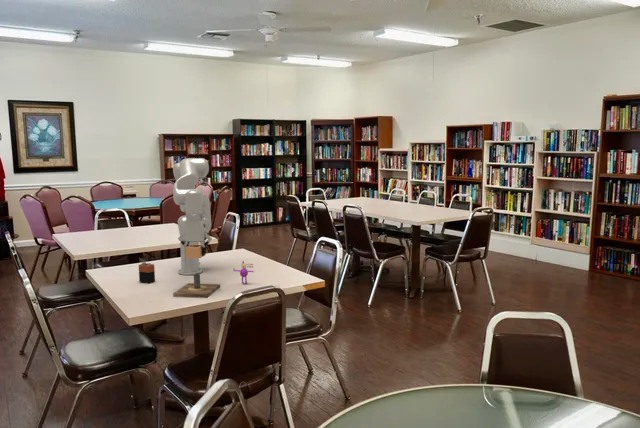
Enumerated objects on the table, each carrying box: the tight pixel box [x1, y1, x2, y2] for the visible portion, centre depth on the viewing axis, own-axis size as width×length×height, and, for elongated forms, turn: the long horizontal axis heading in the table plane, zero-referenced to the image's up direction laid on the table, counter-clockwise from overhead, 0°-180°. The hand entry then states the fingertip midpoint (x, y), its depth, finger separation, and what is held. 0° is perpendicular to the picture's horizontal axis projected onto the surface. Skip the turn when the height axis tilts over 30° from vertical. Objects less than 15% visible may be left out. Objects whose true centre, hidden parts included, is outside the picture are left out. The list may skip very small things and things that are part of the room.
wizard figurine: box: [232, 260, 255, 285], centre depth 248 cm, size 11×3×12 cm, turn 77°
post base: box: [172, 273, 221, 299], centre depth 235 cm, size 18×16×9 cm
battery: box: [138, 261, 156, 285], centre depth 253 cm, size 4×7×10 cm, turn 66°
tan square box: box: [185, 244, 207, 259], centre depth 233 cm, size 7×7×5 cm
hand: (195, 254), depth 233 cm, fingers closed on tan square box, 7 cm apart
